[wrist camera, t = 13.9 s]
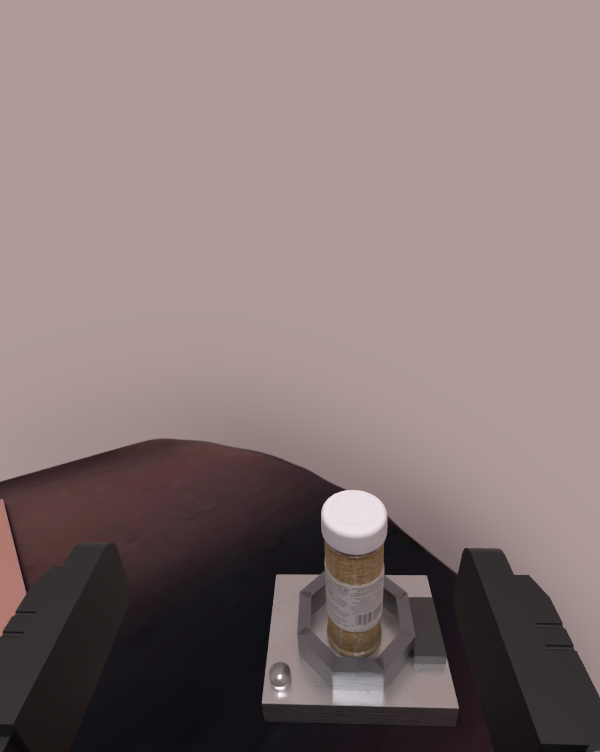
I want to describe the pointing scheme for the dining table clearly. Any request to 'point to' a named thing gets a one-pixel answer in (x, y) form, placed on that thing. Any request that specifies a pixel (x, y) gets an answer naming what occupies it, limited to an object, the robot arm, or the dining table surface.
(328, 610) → the sprinkles bottle
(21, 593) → the notebook
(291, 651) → the octagonal ring base plate
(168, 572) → the dining table surface
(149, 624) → the dining table surface
